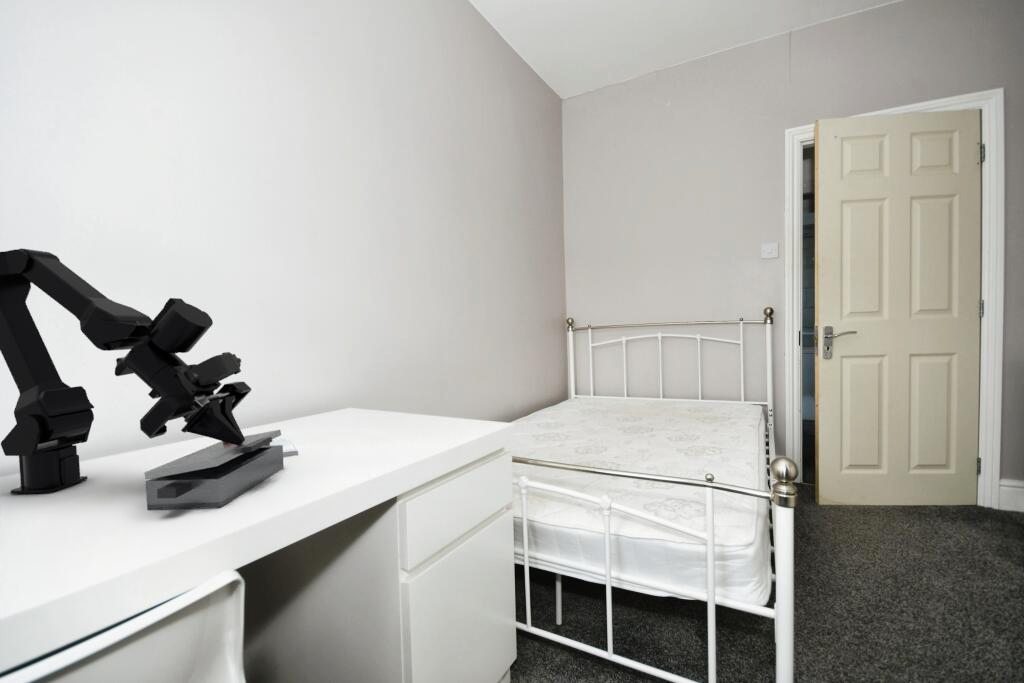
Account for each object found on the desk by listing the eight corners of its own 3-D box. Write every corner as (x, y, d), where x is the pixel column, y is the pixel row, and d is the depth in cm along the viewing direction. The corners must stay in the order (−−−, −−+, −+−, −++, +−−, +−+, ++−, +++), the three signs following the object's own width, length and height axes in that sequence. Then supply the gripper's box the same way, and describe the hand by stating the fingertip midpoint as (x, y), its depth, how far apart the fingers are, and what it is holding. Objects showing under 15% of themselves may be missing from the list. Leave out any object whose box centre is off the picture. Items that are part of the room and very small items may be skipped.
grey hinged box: (129, 518, 61) (127, 488, 61) (236, 464, 85) (235, 442, 85) (206, 516, 61) (204, 486, 61) (291, 462, 85) (290, 440, 85)
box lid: (145, 479, 64) (142, 465, 64) (225, 445, 82) (223, 434, 82) (227, 464, 64) (224, 449, 64) (289, 433, 82) (287, 422, 82)
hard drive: (245, 443, 97) (249, 456, 86) (289, 437, 101) (298, 449, 90) (246, 451, 97) (250, 465, 86) (289, 445, 101) (298, 457, 90)
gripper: (156, 338, 63) (242, 417, 63) (237, 335, 82) (303, 396, 82) (101, 398, 63) (187, 476, 64) (194, 381, 82) (260, 442, 82)
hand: (242, 442), depth 73 cm, fingers closed, pressing on box lid
